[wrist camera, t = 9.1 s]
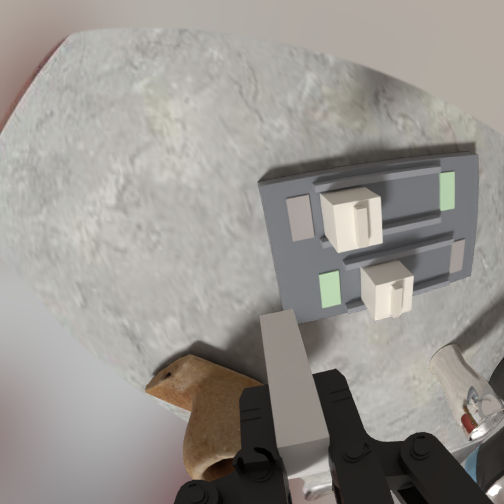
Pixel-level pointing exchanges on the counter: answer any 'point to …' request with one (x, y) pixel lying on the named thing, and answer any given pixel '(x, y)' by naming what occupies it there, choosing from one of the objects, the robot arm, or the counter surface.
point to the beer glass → (466, 393)
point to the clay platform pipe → (205, 412)
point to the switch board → (393, 229)
